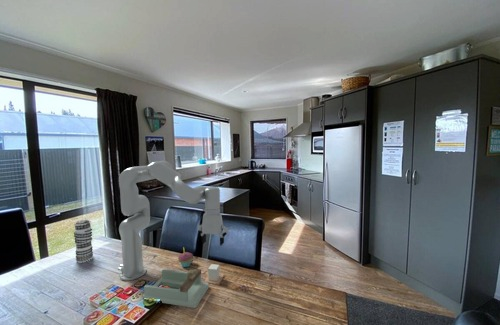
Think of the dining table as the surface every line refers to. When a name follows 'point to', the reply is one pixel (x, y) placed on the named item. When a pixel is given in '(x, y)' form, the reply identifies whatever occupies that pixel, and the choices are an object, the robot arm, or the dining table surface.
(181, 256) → the cupcake
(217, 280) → the terracotta coaster
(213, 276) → the cream block
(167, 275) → the puzzle board
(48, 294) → the dining table surface
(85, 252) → the stacked grey column
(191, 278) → the latch bar
